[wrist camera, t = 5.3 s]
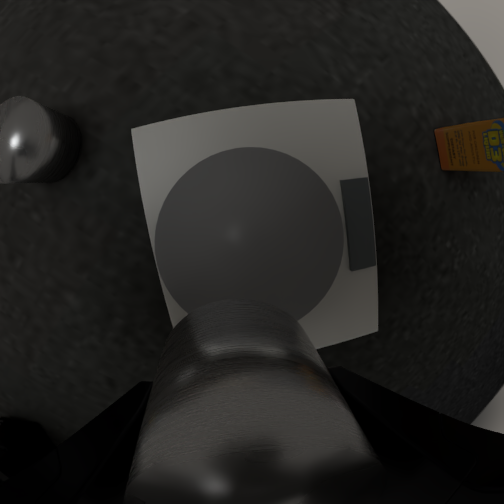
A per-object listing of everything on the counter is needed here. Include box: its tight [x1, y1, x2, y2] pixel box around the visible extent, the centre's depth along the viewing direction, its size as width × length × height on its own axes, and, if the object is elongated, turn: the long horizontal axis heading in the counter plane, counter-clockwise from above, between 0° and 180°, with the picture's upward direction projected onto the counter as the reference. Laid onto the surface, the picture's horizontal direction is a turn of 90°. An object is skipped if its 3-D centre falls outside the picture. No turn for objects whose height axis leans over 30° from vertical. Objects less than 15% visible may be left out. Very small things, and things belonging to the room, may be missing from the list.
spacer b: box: [0, 96, 82, 183], centre depth 12 cm, size 4×4×5 cm
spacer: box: [124, 299, 387, 504], centre depth 6 cm, size 4×4×5 cm
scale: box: [131, 99, 378, 349], centre depth 16 cm, size 14×12×3 cm
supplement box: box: [434, 118, 504, 172], centre depth 13 cm, size 3×3×10 cm
